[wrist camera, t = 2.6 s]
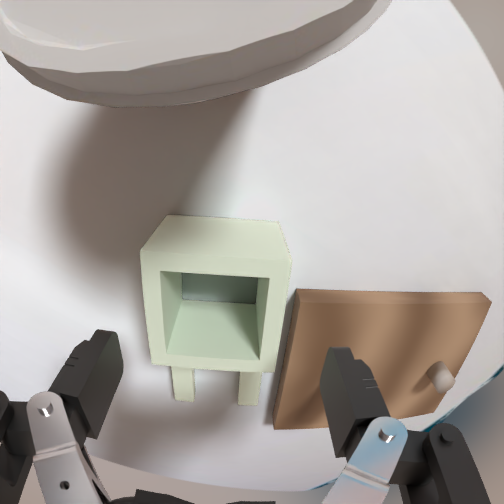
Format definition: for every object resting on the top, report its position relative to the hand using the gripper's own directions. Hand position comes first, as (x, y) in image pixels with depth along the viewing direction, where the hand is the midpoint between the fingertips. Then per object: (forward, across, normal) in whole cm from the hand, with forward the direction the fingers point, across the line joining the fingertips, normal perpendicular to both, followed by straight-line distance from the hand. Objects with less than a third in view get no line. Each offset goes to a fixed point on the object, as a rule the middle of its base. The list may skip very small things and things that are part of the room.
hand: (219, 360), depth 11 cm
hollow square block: (+7, +1, +3) cm, 8 cm away
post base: (+8, -11, +7) cm, 15 cm away
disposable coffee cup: (+7, +1, -13) cm, 15 cm away
